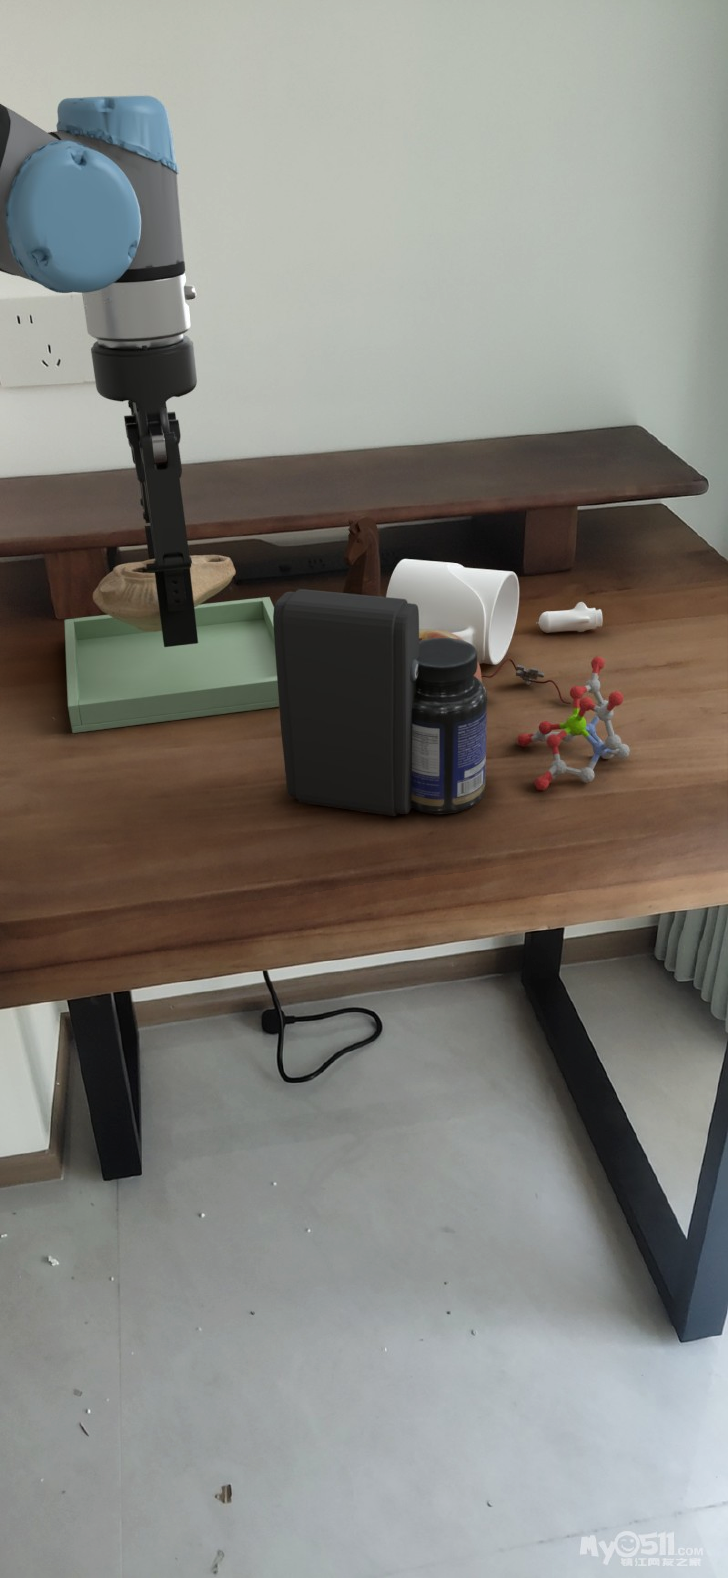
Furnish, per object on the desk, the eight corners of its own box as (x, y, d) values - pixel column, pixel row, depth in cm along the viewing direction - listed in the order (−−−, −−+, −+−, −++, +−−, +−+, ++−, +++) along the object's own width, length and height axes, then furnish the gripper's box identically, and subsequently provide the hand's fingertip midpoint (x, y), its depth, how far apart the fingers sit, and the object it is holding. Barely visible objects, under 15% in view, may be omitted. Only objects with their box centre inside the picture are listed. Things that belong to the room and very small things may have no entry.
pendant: (479, 648, 96) (478, 663, 99) (468, 697, 95) (467, 710, 97) (577, 667, 95) (574, 681, 98) (567, 716, 94) (564, 729, 96)
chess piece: (327, 626, 109) (322, 521, 104) (358, 608, 112) (355, 505, 107) (368, 636, 107) (365, 529, 101) (398, 617, 110) (397, 513, 105)
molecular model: (608, 735, 90) (617, 645, 86) (638, 789, 83) (649, 694, 79) (514, 740, 89) (519, 651, 86) (536, 795, 83) (543, 700, 79)
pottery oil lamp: (264, 605, 100) (248, 549, 94) (145, 681, 98) (120, 629, 92) (210, 545, 104) (191, 488, 98) (94, 616, 102) (67, 562, 96)
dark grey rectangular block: (425, 794, 83) (425, 594, 75) (410, 824, 80) (408, 618, 72) (303, 777, 86) (291, 581, 78) (283, 805, 82) (269, 604, 75)
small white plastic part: (539, 620, 109) (545, 588, 108) (602, 636, 107) (609, 603, 106) (527, 630, 106) (534, 597, 105) (592, 647, 104) (599, 613, 103)
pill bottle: (473, 768, 86) (476, 628, 80) (495, 812, 81) (500, 666, 75) (390, 777, 85) (387, 637, 80) (406, 822, 80) (405, 675, 74)
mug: (417, 626, 108) (417, 542, 104) (517, 639, 105) (521, 553, 101) (370, 681, 98) (368, 591, 94) (478, 697, 95) (481, 605, 91)
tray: (72, 733, 92) (67, 706, 91) (68, 643, 107) (64, 619, 106) (306, 703, 96) (304, 676, 94) (271, 620, 110) (269, 596, 109)
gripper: (209, 363, 79) (237, 668, 90) (178, 309, 97) (204, 569, 109) (95, 372, 77) (138, 681, 89) (85, 316, 96) (122, 578, 107)
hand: (175, 619), depth 99 cm, fingers closed on pottery oil lamp, 9 cm apart
